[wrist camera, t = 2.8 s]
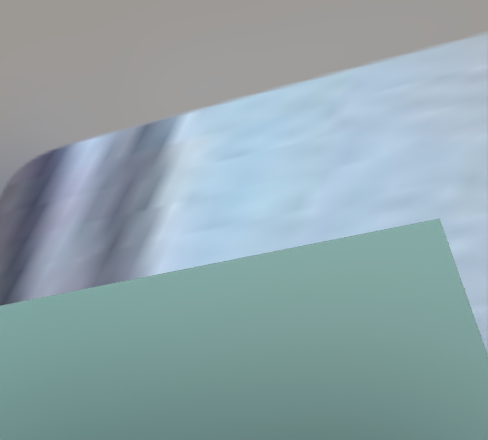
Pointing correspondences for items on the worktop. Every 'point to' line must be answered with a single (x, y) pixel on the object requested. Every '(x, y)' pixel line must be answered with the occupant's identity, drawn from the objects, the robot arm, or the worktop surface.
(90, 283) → the worktop surface
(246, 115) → the worktop surface
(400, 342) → the teal post
